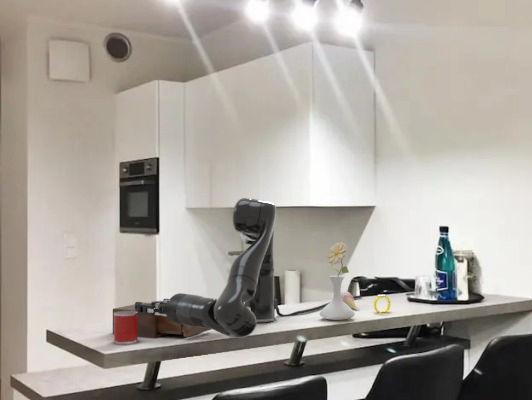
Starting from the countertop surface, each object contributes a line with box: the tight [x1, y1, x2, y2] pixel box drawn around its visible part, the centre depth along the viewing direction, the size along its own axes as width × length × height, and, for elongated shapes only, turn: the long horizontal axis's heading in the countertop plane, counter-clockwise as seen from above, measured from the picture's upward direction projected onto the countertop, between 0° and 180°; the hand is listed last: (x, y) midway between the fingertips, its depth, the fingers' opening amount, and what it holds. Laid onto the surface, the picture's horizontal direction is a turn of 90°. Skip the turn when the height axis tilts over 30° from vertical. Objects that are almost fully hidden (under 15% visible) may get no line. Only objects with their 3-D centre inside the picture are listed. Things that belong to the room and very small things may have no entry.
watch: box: [373, 294, 392, 314], centre depth 241 cm, size 6×3×6 cm, turn 115°
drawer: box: [157, 315, 213, 338], centre depth 199 cm, size 18×12×5 cm
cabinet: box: [112, 303, 171, 339], centre depth 204 cm, size 15×14×7 cm
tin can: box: [113, 311, 139, 345], centre depth 189 cm, size 6×6×8 cm
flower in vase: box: [319, 241, 356, 321], centre depth 226 cm, size 13×11×25 cm
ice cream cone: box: [341, 290, 358, 311], centre depth 253 cm, size 5×5×15 cm
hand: (150, 304), depth 182 cm, fingers open, 8 cm apart
